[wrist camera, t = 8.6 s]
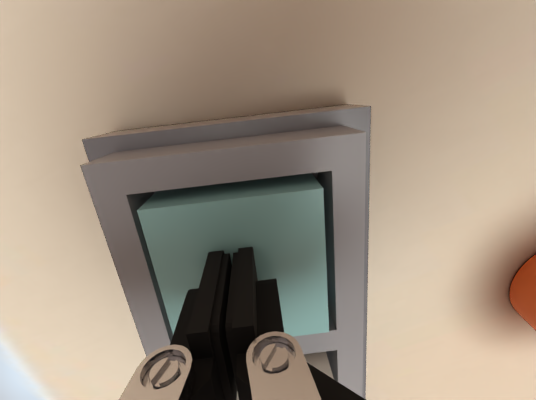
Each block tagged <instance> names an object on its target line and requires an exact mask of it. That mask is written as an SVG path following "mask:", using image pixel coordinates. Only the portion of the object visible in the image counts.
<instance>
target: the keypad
mask: <svg viewBox="0 0 536 400" xmlns="http://www.w3.org/2000/svg"><path fill="white" fill-rule="evenodd" d="M370 124H371V106H361V105H339V106H331V107H322V108H313V109H304V110H296V111H287V112H278V113H270V114H261V115H252V116H244V117H235V118H226V119H218V120H209V121H200V122H192V123H183V124H174V125H166V126H157V127H148V128H139V129H131V130H122V131H114V132H110V133H106V134H102V135H98V136H94V137H90V138H86V139H82V141H83V144H84V147H85V151H86V154H87V157H88V160H89V162H88V163H85V164H83V165H80V166H81V169H82V172H83V175H84V178H85V180H86V183H87V186H88V189H89V192H90V195H91V198H92V201H93V204H94V207H95V209H96V212H97V215H98V218H99V221H100V224H101V227H102V230H103V233H104V235H105V238H106V241H107V244H108V247H109V250H110V253H111V256H112V259H113V261H114V264H115V267H116V270H117V273H118V276H119V279H120V282H121V285H122V287H123V290H124V293H125V296H126V299H127V302H128V305H129V308H130V311H131V313H132V316H133V319H134V322H135V325H136V328H137V331H138V334H139V337H140V339H141V342H142V345H143V348H144V351H145V354H146V357H147V356H148V355H149V354H150V353H152V352H154V351H155V350H157V349H159V348H162V347H164V346H168V345H170V343H171V340H172V337H173V333H172V329H171V326H170V322H169V319H168V316H167V312H166V309H165V305H164V302H163V298H162V295H161V292H160V288H159V285H158V281H157V278H156V274H155V271H154V267H153V264H152V261H151V257H150V254H149V250H148V247H147V243H146V240H145V237H144V233H143V230H142V226H141V223H140V219H139V216H138V212H137V210H138V209H139V208H140V207H141V206H142V205H143V204H144V203H145V202H146V201H147V200H148V199H149V198H150V197H151V196H152V195H153V194H154V193H155V192H156V191H163V190H172V189H180V188H189V187H197V186H206V185H214V184H223V183H231V182H240V181H248V180H257V179H265V178H273V177H282V176H290V175H299V174H307V173H312V174H313V176H314V177H315V178H316V180H317V181H318V182H319V183H320V185H321V186H322V187H323V192H324V217H325V241H326V266H327V290H328V315H329V332H326V333H318V334H310V335H302V336H294V338H295V339H296V340H297V341H298V343H299V345H300V346H301V349H302V351H303V354H310V353H318V352H326V354H327V357H328V361H329V364H330V368H331V371H332V375H333V378H334V380H336V381H337V382H339V383H340V384H342V385H344V386H345V387H347V388H348V389H350V390H351V391H353V392H355V393H356V394H358V395H359V396H361V397H362V398H364V399H365V389H366V336H367V283H368V230H369V177H370Z"/></svg>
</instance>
